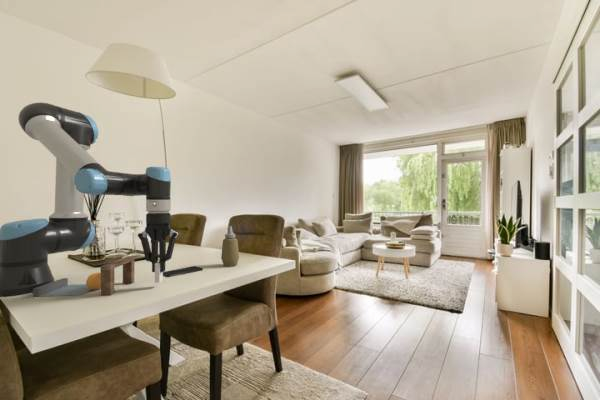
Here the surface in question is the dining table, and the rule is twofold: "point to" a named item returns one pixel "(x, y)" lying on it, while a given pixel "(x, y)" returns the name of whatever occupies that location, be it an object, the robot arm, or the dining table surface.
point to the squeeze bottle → (230, 249)
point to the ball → (94, 281)
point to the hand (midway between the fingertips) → (158, 281)
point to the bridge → (108, 274)
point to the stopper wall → (50, 287)
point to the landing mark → (69, 290)
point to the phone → (182, 271)
